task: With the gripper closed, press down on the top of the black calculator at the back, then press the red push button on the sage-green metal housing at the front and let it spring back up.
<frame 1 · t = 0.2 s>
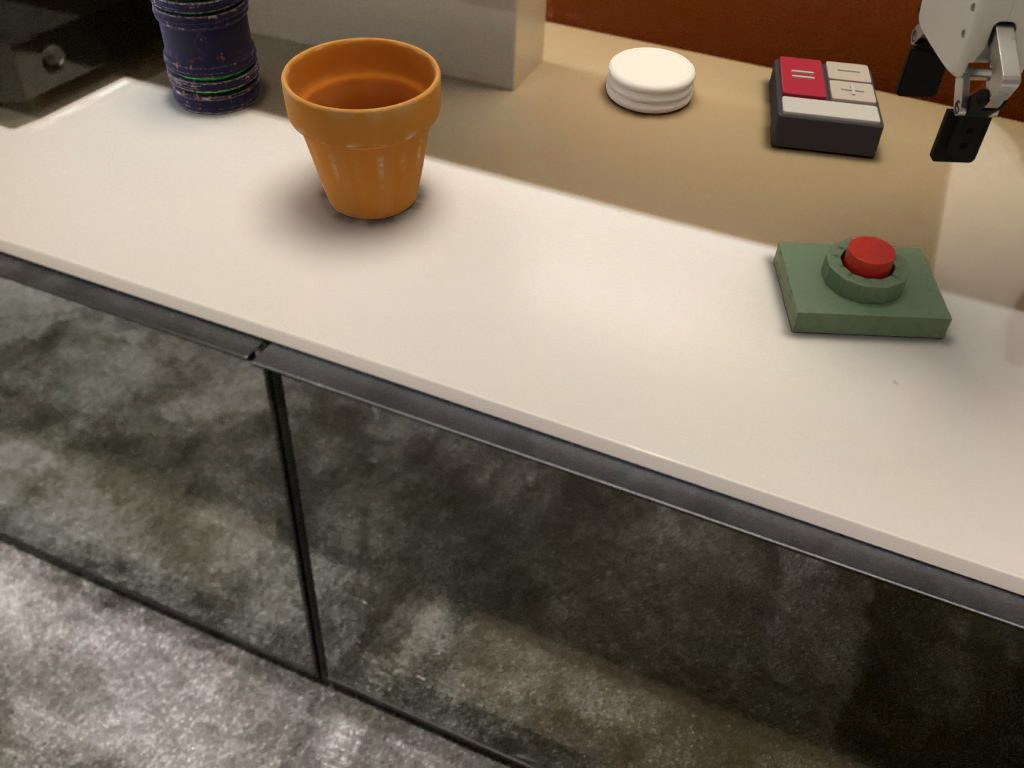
hand: (931, 126, 74), 17 cm above the table, tool pointing down, fingers open, 9 cm apart
red push button: (869, 258, 83), point 4 cm above the table, slide at 0.1 cm
calculator: (818, 119, 109), on the table
flower pot: (372, 196, 96), on the table
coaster: (648, 95, 112), on the table
button box: (854, 297, 86), on the table
storage jar: (218, 94, 109), on the table
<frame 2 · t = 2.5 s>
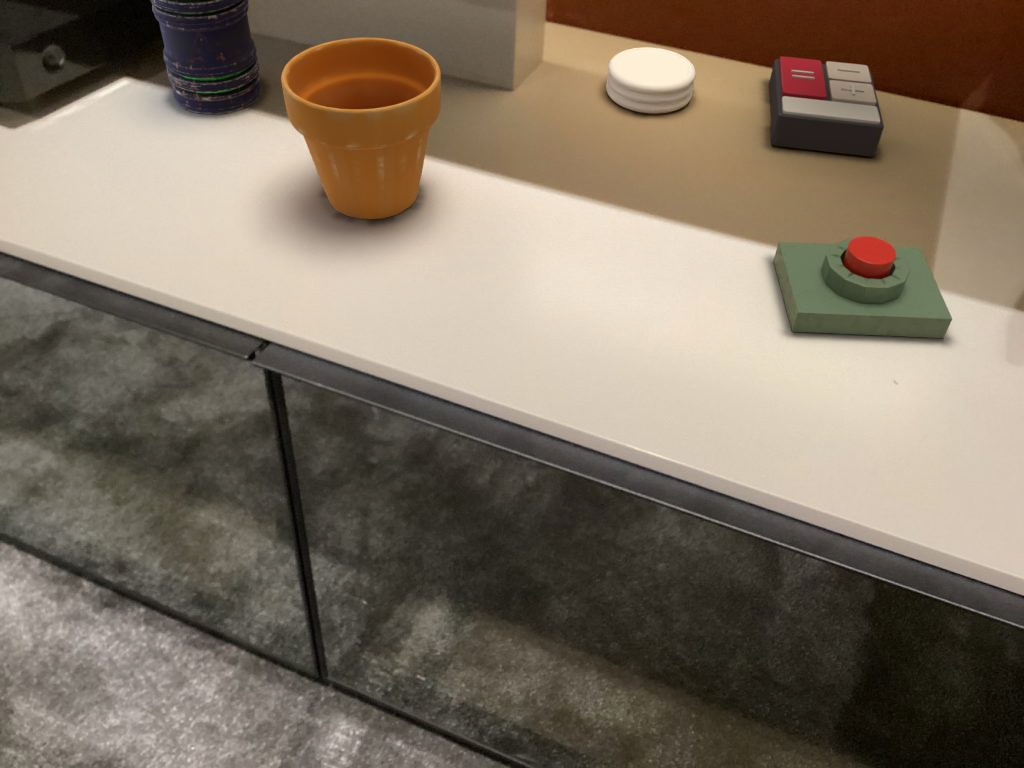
nothing on the table moved.
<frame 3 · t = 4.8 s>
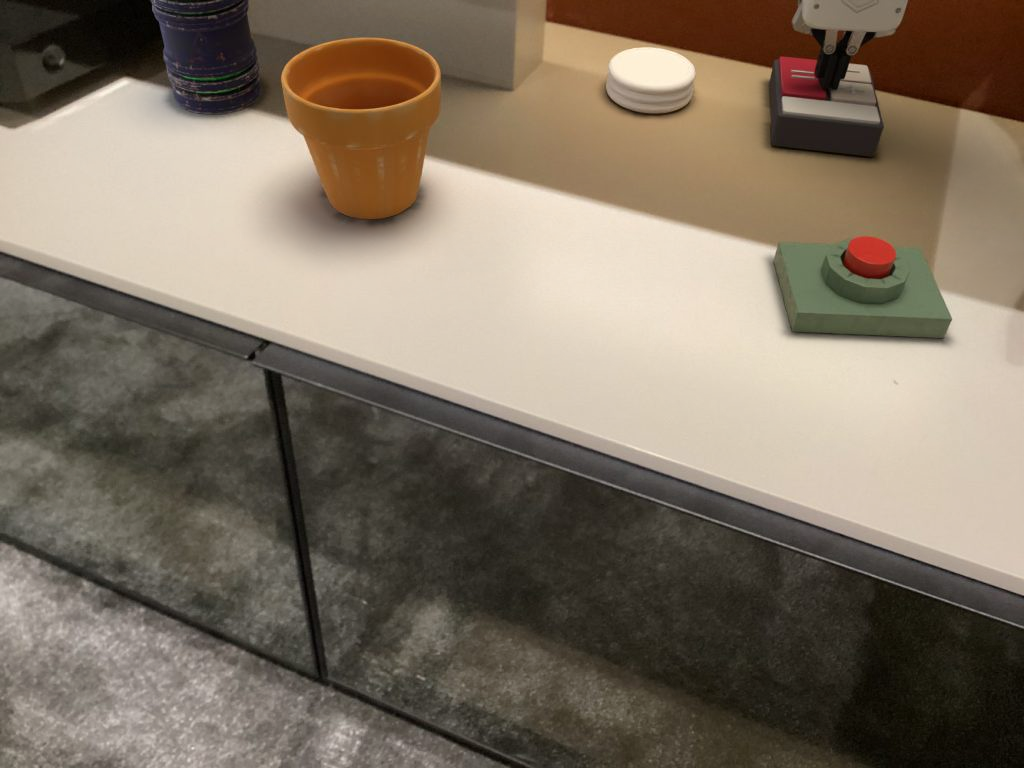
hand: (827, 83, 106), 4 cm above the table, tool pointing down, fingers closed
calculator: (818, 120, 109), on the table, touching gripper
everything else where it was.
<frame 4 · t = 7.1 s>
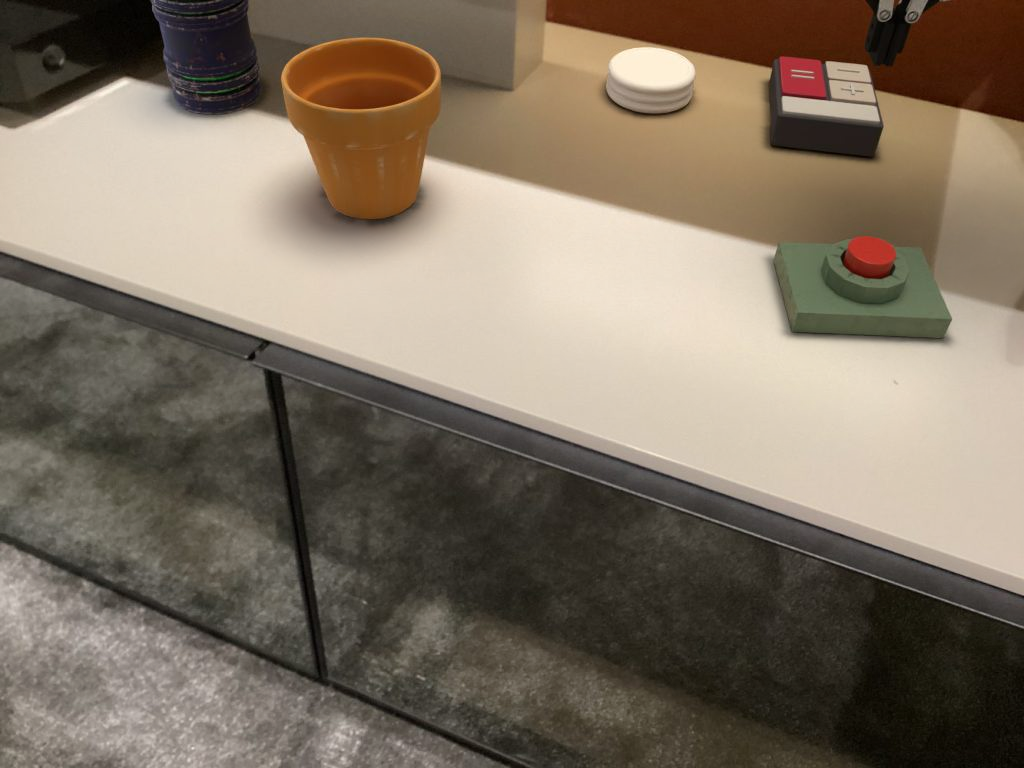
hand: (879, 59, 87), 15 cm above the table, tool pointing down, fingers closed
calculator: (818, 119, 109), on the table
everything else where it was.
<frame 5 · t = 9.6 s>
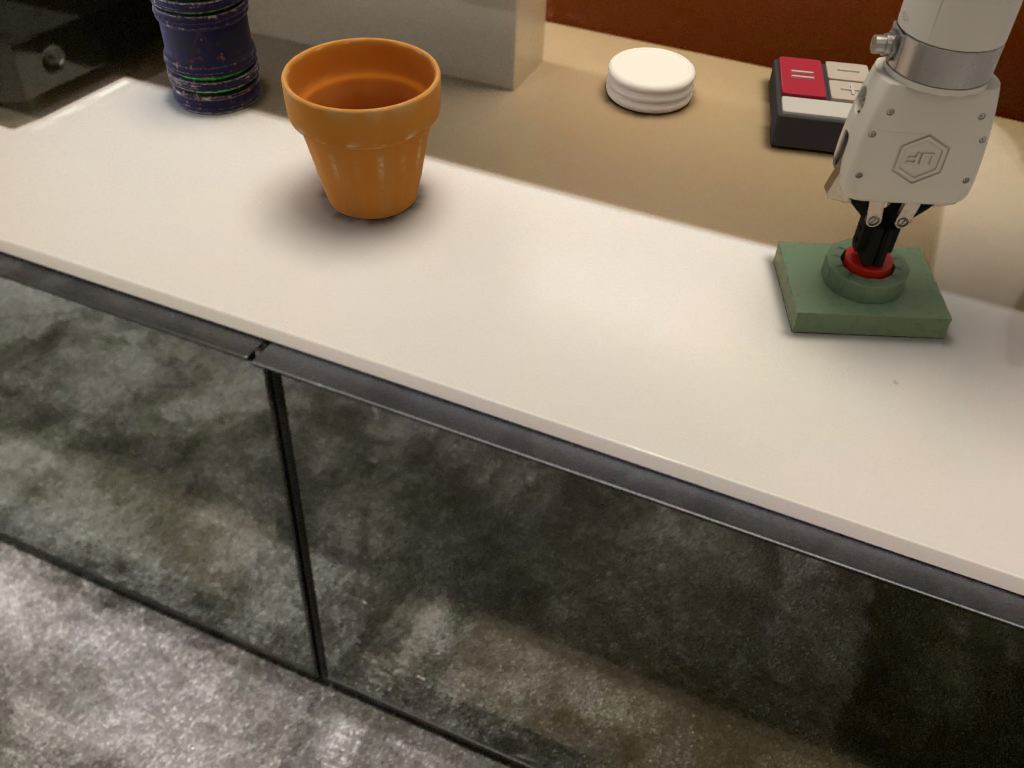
hand: (868, 256, 83), 5 cm above the table, tool pointing down, fingers closed
red push button: (866, 264, 83), point 4 cm above the table, slide at -0.7 cm, touching gripper
everything else where it was.
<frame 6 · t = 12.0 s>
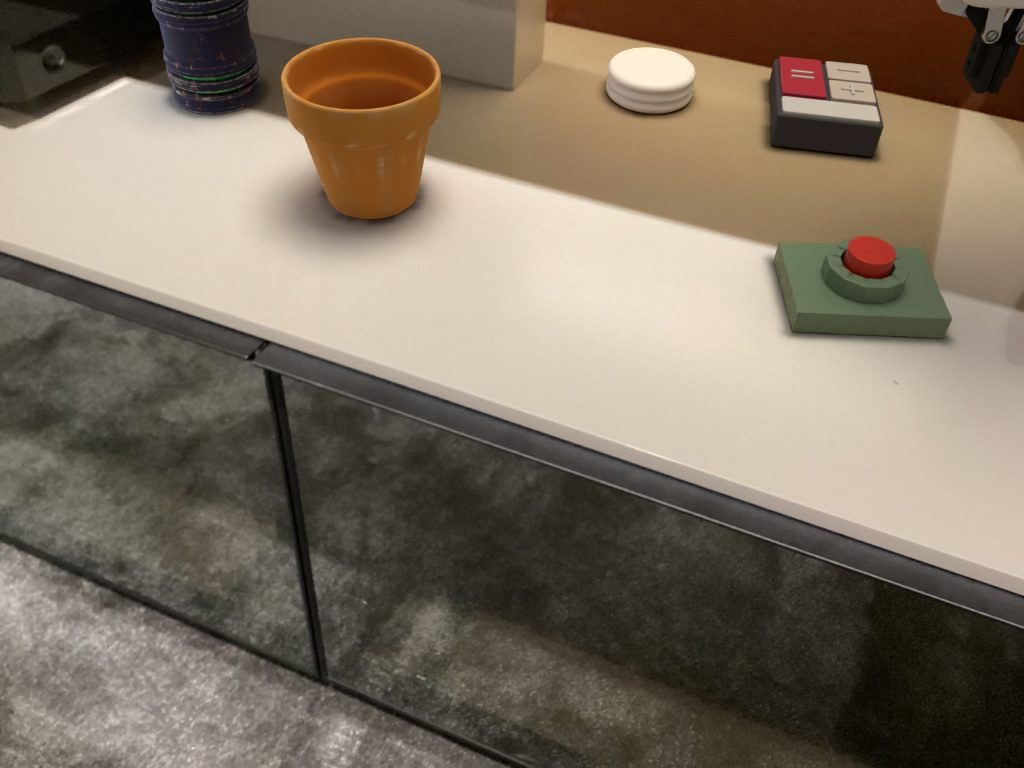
hand: (980, 84, 75), 19 cm above the table, tool pointing down, fingers closed
red push button: (869, 258, 83), point 4 cm above the table, slide at 0.1 cm
everything else where it was.
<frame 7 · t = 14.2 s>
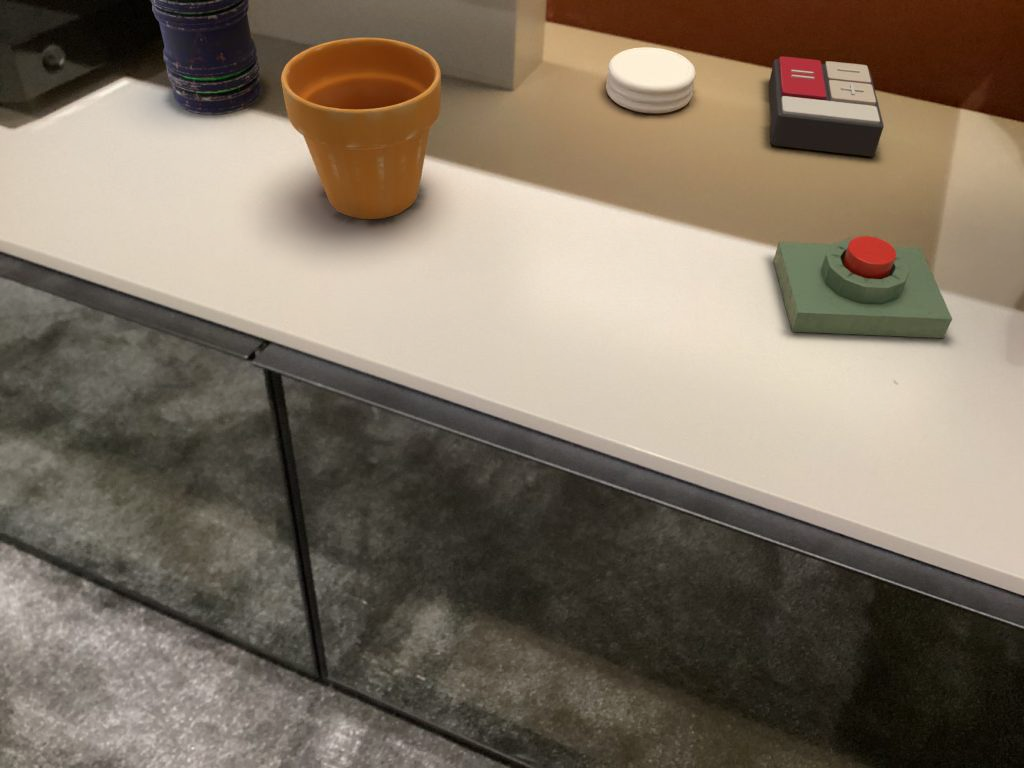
nothing on the table moved.
at the end: red push button pushed in 1.1 cm at the most during the clip, back to where it started at the end; red push button slide at 0.1 cm; calculator moved 0.2 cm from its start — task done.
